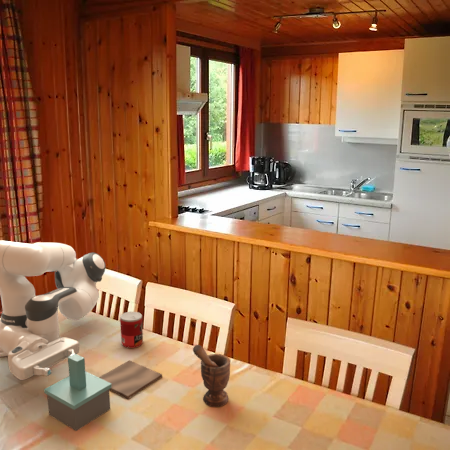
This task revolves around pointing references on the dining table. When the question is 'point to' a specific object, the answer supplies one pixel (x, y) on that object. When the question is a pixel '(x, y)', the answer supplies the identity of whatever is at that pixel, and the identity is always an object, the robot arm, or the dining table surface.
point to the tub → (79, 410)
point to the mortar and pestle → (214, 376)
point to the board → (130, 378)
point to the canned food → (131, 329)
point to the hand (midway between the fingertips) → (62, 365)
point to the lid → (77, 385)
